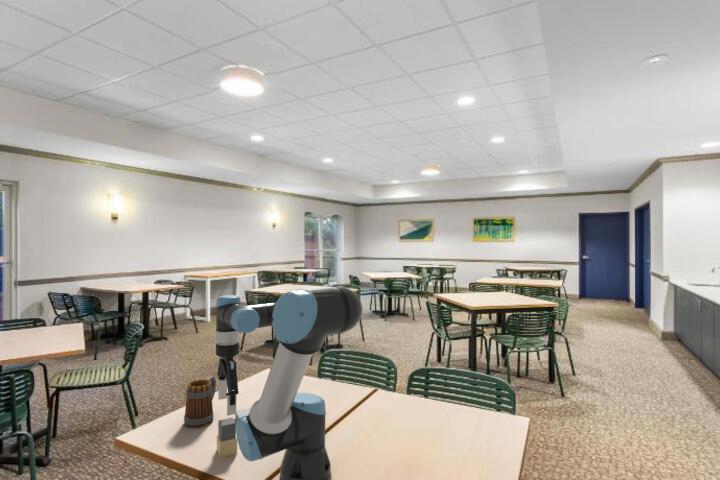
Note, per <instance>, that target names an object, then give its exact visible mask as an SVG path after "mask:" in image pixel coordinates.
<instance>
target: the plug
mask: <svg viewBox="0 0 720 480" xmlns="http://www.w3.org/2000/svg"><path fill="white" fill-rule="evenodd" d="M236 422H237V421H236V420H235V418H234V417H228V418H224V419H219V420H218V425H217V426H218V429H217V430H218V433H217V435H216V451H217V455H218V456H219V458H220V459H221V457H222V458H226V457H228V456H229V457H230V456H232V455H236V453H237V454H238V440H237V435H236Z"/></svg>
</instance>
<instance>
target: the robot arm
mask: <svg viewBox="0 0 720 480" xmlns="http://www.w3.org/2000/svg"><path fill="white" fill-rule="evenodd" d="M215 310H216V311H215V320H216V321H215V342H216V344H215V355H216V356H217V357H219V358H218V366H217V367H218V368H217V374H216V375H217V376H218V400H219V401H221V400H225V399H226V416H227V417H228V416H232V415H235V414H236V411H237V395H239V385H238V374H237V373H238V372H237V361H236V360H235V359H234V357H235V356H238V355H239V354H240V347H241V344H240V335H241V334H242V333H244V334H250V333H252V332H254V331H255V330H257V329H263V328H266V327H272V329H273V334H274V335H275V337H276V339H277V342H278V343H279V345H278V347H277V349H276V352H275V356H274V358H273V360H272V364H271V367H270V369H269V372H268V376H267V378H266V381H265V384H264V386H263V389H262V393H261V395H260V398H259V399H258V400H256V401H255V402H254V403H253V404H252V405H251V407H250V408H251V409H250V412H249V415H247V416H242V417H240V418H239V419H238V420H237V421H235V422H236V437H237V445H238V447H239V450H240V452H241V454H242V457H244V459H245V460H247V461H249V462H254V461H258V460H263V459H264V458H267V457H270V456H272V455H275V454H277V453H280V452H282V451H284V454H283V457H282V460H281V464H280V466H279V478H280V480H328V479H329V477H330V476H331V473H332V471H331V461H330V458H329V455H328V451H327V448H326V414H327V412H326V401H325V399H324V398H323V397H321V396H319V395H317V394H314V393H310V392H298V391H299V389H300V386H301V383H302V381H303V379H304V376H305V374H306V370H307V369H308V366H309V363H310V361H311V358H312V356H313V355H315V354H317V353H319V352H320V350H322V347H323V345H324V343H325V341H326V338H327V337H329V336H334V335H340V334H344V333H347V332H348V331H351V330H352V329H354V328H355V327H356V326H357V325H358V324H359V322H360V320H361V319H362V316H363V305H362V301H361V298H360V297H359V296H358V294H357V293H356V292H354V290H351V289H349V288H347V287H345V286H344V287H343V286H333V287H332V286H331V287H323V288H322V287H321V288H314V289H305V288H300V289H296V290H292V291H288V292H285V293H283V294H282V295H281V296H280V297H279V298H278V300H277V301H276V302H269V303H258V304H250V305H248V304H247V305H242V302H241V297H240V296H239V295H236V294H235V295H234V294H224V295H220V296H218V297H217V298H216V305H215Z"/></svg>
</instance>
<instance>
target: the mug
mask: <svg viewBox="0 0 720 480" xmlns="http://www.w3.org/2000/svg"><path fill="white" fill-rule="evenodd" d="M216 380H217V379H216V378H215V377H214V376H207V377H206V379H202V378H201V379H197V380H196V379H195V380H192V381H189V383H187V387H186V392H185V393H186V394H185V397H186V398H185V399H186V400H185V411H184V416H183V422H184V425H185V426H186V427H188V428H190V429H192V428H193V429H197V428H202V427H206V426H208V425H209V424H211V423H212V422H213V420H214V409H213V399H214V398H215V397H214V396H215V394H216V388H217V387H216V386H217V382H216Z"/></svg>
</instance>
